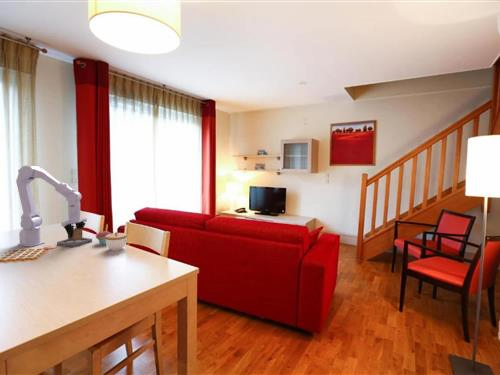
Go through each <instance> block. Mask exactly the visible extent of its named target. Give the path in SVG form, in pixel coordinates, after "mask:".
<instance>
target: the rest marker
mask: <svg viewBox="0 0 500 375" xmlns="http://www.w3.org/2000/svg"><path fill="white" fill-rule="evenodd" d="M57 248H58V245H48V246H44V247H43V250H54V249H57Z"/></svg>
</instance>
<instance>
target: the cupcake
mask: <svg viewBox="0 0 500 375" xmlns="http://www.w3.org/2000/svg"><path fill="white" fill-rule="evenodd" d="M108 234H112V232H111V231H108V223H107V224H106V226H105V230H103V231H100V232H98V233H97V234H96V235H95V238H96V239H98V242H99V244H100V245H106V241H105V236H106V235H108Z"/></svg>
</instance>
